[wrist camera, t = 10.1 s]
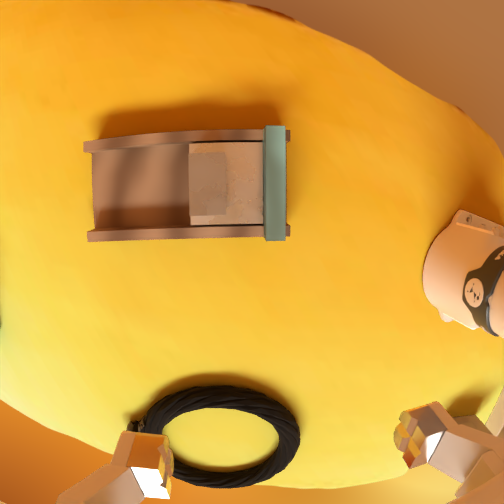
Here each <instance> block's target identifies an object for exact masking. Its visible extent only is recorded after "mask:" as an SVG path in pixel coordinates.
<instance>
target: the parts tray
mask: <svg viewBox="0 0 504 504" xmlns="http://www.w3.org/2000/svg"><path fill="white" fill-rule="evenodd" d="M485 426H486V427H487V428H488V429H489V430H490V432H491V433H492V434H493V435H494V436H497V437H500V438H503V439H504V387H503V390H502V392H501V394H500V396H499V398H498V400H497V403H496V405H495V407H494V409H493V411H492V413H491V415H490V417H489V419H488V420H487V422H486V424H485Z"/></svg>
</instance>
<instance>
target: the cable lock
mask: <svg viewBox="0 0 504 504" xmlns="http://www.w3.org/2000/svg"><path fill="white" fill-rule="evenodd" d="M203 408H226V409H237V410H240V411H244V412H248V413H252V414H254V415H257V416H259V417H261V418H262V419H264V420H266V421H268V422H269V423H271V424H272V425H273V426H274V428H275V429H276V431H277V433H278V434H279V440H280V441H279V446H278V448H277V450H276V452H275V453H274V454H273V455H272V456H271V457H270V458H269V459H268V460H267V461H265V462H264V463H263V464H260V465H258V466H256V467H254V468H251V469H249V470H246V471H239V472H233V473H213V472H205V471H201V470H198V469H195V468H192V467H189V466H185V465H183V464H182V463H181V462H180V461H178V460H177V459H175V458H174V457H173V458H174V470H173V475H172V476H173V477H175V478H177V479H180V480H183V481H185V482H188V483H190V484H193V485H196V486H204V487H210V488H239V487H245V486H251V485H253V484H256V483H259V482H262V481H265V480H268V479H270V478H271V477H273V476H274V475H275V474H277V473H279V472H281V471H282V470H284V469H285V468H286V466H287V465H288V464H289V463H290V462H291V461H292V459H293V458H294V456H295V454H296V452H297V450H298V447H299V445H300V430H299V427H298V425H297V424H296V421H295V418H294V417H293V415H292V414H291V413H290V412H289V411H288V410H287V409H286V408H285V407H284V406H282V405H281V404H280V403H279V402H277V401H275V400H273V399H270V398H268V397H267V396H265V395H264V394H262V393H259V392H256V391H253V390H250V389H244V388H237V387H233V386H208V387H193V388H190V389H186V390H183V391H179V392H177V393H175V394H173V395H169V396H166V397H165V398H163V399H162V400H160V401H159V402H157V403H156V404H155V405H154V406H153V407H152V408H151V409H150V410H149V411H148V412H147V414H146V415H145V416H144V417H143V418H142V419H141V421H140V422H139V421H135V424H133V423H132V422H130V423H129V424H128V426H127V430H126V431H131V432H140V433H148V434H158V435H162V430H163V428H164V426H165V425H166V424H168V423H169V422H170V421H171V420H172V419H174V418H175V417H177V416H179V415H181V414H183V413H186V412H190V411H194V410H198V409H203Z"/></svg>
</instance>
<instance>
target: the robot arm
mask: <svg viewBox="0 0 504 504" xmlns="http://www.w3.org/2000/svg"><path fill="white" fill-rule="evenodd" d="M466 218H467V220H466ZM423 286H424V291H425V294H426V296H427V298H428V300H429V301H430V303H431V304H432V305H434V306H435V307H436V308H437V309H438V311H439V314H440V317H441V319H442V320H443V321H445V322H450V321H452V320H455V321H457V322H459V323H461V324H463V325H465V326H466V327H468V328H470V329H474V330H475V329H476V328H479V327H481V328H482V329H483V330H484V331H486V332H487V333H489V334H492V335H494V336H501V337H502V338H503V339H504V226H501V225H499V224H497V223H494V222H492V221H489V220H487V219H485V218H482V217H480V216H477V215H475V214H472V213H470V212H467V211H465V210H458V211H457V213H456V214H455V216H454V218H453V220H452V222H451V223H450V225H449V226H448V227H447V228H446V229H444V230H443V231H442V232H441V233H440V234H439V235H438V236H437V238H436V239H435V240H434V242H433V244H432V245H431V247H430V249H429V252H428V254H427V257H426V260H425V264H424V269H423ZM399 420H400V421H401V423H400V424H399V425H398V426H397V427H396V428H395V431H394V442H395V445H396V447H397V449H398V450H400V451H402V452H404V453H403V459H404V461H405V462H406V464H407V466H408V467H409V469H411V468H414V467H417V466H420V465H422V464H425V463H428V462H429V463H428V464H430V465H431V466H433V467H435V468H437V469H438V470H440V471H441V472H443V473H445V474H447V475H448V476H450V477H452V478H454V479H455V480H457V481H459V482H461V483H462V484H461V485H460V487H459V488H458V489H457V491H456V493H455V495H456V497H457V499H455V500H453V501H451V502H449V503H447V504H504V439H503V438H500V437H497V436H494V435H491V434H488V433H485V432H482V431H479V430H476V429H474V428H471V427H468V426H465V425H463V424H460V425H458V424H457V423H456V421H455V420H454V419H453V418H452V417H451V416H450V414H449V413H448V412H447V411H446V410H445V409H444V408H443V406H442V405H441V404H440V403H439V402H437V401H435V402H432V403H429V404H426V405H423V406H419V407H416V408H413V409H409V410H406V411H403V412H402V413H401V415H400V418H399ZM173 470H174V458H173V453H172V450H171V449H169V439H168V436H166V435H158V434H148V433H140V432H131V431H123V432H122V433H121V435H120V438H119V441H118V443H117V446H116V449H115V452H114V455H113V458H112V461H111V463H110V464H105V465H104V466H102V467H101V468H99V469H98V470H96V471H95V472H93V473H92V474H91V475H89V476H87V477H86V478H84V479H83V480H82V481H80V482H78V483H77V484H75V485H74V486H72V487H71V488H69V489H68V490H66V491H64V492H63V493H61V494H60V495H59V496H58V499H57V501H56V503H55V504H140V503H141V502H142V501H143V500H144V499H145V497H153V498H166V499H170V492H171V485H172V484H171V481H170V478H169V477H171V476H172V475H173ZM0 504H6V503H4V502H2V501H0Z"/></svg>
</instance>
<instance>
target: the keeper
mask: <svg viewBox="0 0 504 504" xmlns="http://www.w3.org/2000/svg"><path fill="white" fill-rule="evenodd" d="M188 156H189V209H190V218H191V225H215V224H263V142H227V143H196V144H189V153H188Z"/></svg>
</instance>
